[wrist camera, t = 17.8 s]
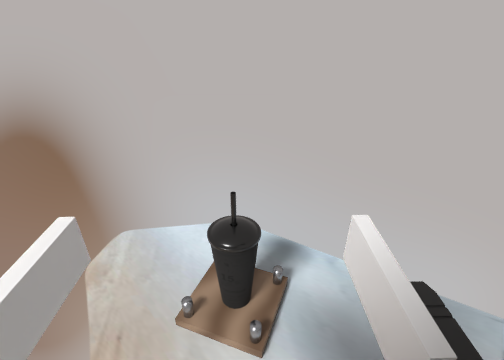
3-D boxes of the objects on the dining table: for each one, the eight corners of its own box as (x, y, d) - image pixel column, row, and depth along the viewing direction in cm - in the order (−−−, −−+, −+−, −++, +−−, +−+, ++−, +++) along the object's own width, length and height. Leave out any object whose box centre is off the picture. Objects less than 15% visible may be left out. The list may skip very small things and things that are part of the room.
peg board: (287, 283, 51) (288, 265, 49) (261, 358, 40) (262, 338, 38) (217, 262, 56) (216, 245, 54) (176, 324, 44) (172, 305, 42)
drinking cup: (217, 276, 51) (210, 177, 41) (260, 279, 50) (263, 180, 41) (208, 315, 44) (197, 208, 34) (257, 318, 44) (260, 211, 34)
